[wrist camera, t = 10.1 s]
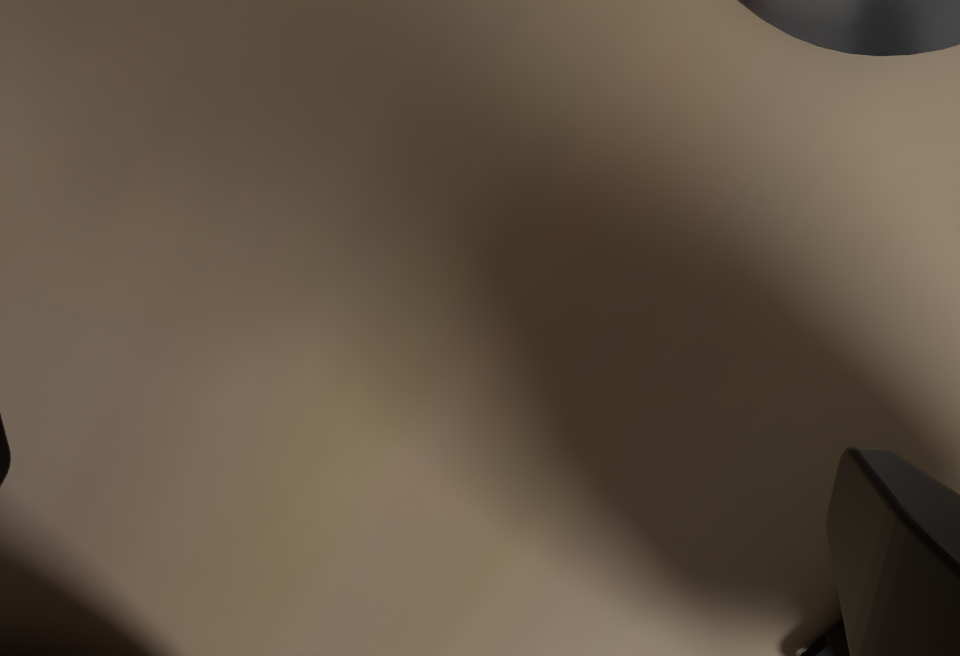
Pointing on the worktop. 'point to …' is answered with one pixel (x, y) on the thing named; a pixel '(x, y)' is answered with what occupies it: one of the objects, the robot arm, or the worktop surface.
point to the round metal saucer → (866, 24)
